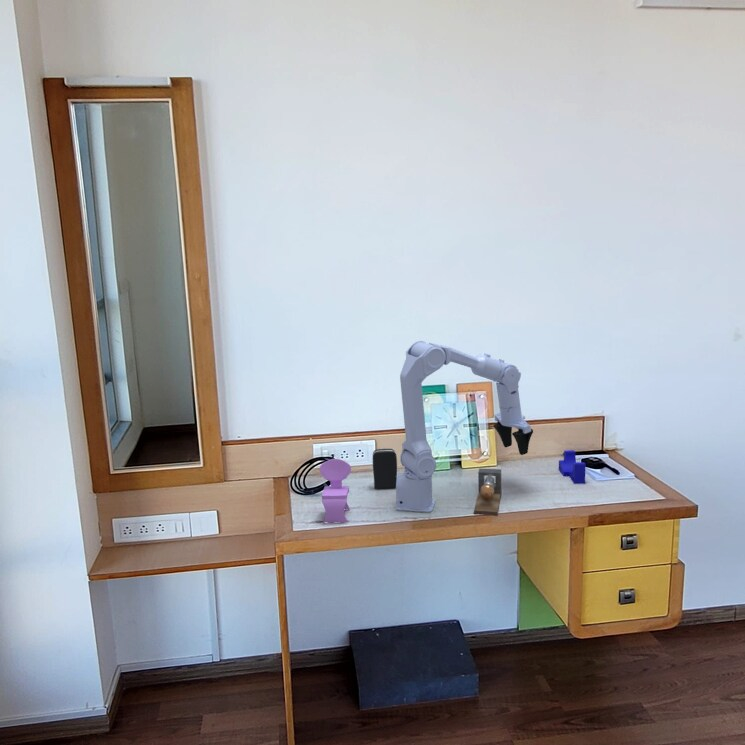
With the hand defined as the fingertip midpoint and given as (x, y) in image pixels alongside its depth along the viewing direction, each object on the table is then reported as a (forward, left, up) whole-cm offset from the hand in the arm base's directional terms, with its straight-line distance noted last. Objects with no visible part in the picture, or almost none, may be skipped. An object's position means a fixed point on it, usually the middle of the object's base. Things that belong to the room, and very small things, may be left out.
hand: (515, 450), depth 197 cm
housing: (-7, -8, -10) cm, 14 cm away
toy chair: (-45, -29, -11) cm, 54 cm away
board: (-7, -14, -11) cm, 19 cm away
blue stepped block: (+16, +9, -11) cm, 21 cm away
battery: (-37, -7, -11) cm, 39 cm away
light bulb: (-7, -13, -8) cm, 17 cm away
